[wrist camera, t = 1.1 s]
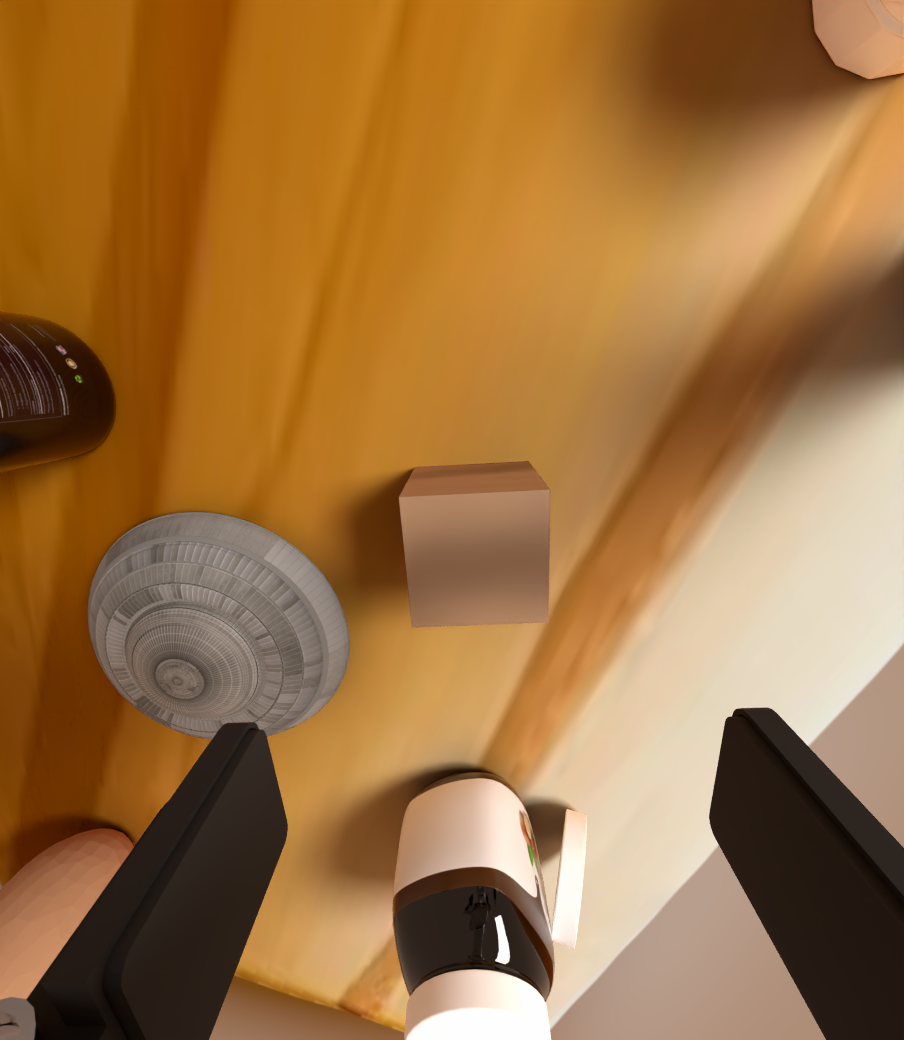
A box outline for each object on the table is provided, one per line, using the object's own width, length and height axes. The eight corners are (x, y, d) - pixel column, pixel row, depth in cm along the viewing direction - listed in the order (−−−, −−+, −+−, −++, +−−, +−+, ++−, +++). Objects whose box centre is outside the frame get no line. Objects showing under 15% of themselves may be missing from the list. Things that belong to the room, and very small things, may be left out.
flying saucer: (208, 746, 30) (154, 825, 24) (58, 568, 25) (-47, 617, 20) (398, 670, 27) (382, 740, 22) (266, 459, 23) (208, 484, 18)
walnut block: (414, 467, 23) (398, 497, 17) (528, 461, 22) (550, 489, 17) (423, 569, 25) (411, 627, 19) (528, 565, 24) (548, 622, 19)
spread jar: (392, 775, 30) (350, 1011, 19) (545, 723, 28) (599, 950, 17) (463, 883, 33) (464, 1138, 22) (604, 842, 31) (681, 1097, 20)
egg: (79, 868, 34) (-92, 1087, 23) (54, 797, 31) (-149, 1006, 21) (175, 874, 33) (46, 1096, 23) (158, 802, 31) (6, 1015, 21)
